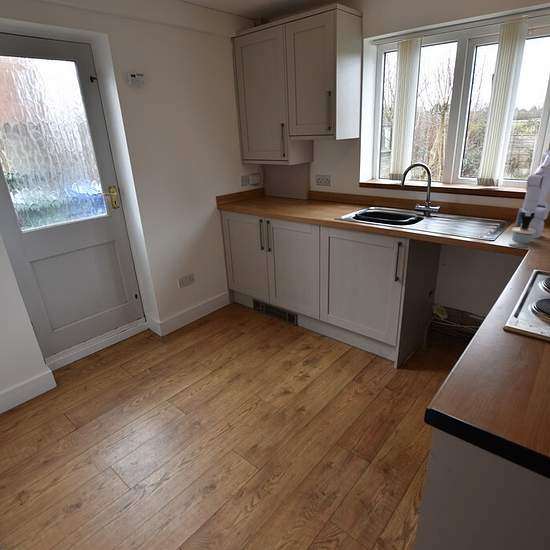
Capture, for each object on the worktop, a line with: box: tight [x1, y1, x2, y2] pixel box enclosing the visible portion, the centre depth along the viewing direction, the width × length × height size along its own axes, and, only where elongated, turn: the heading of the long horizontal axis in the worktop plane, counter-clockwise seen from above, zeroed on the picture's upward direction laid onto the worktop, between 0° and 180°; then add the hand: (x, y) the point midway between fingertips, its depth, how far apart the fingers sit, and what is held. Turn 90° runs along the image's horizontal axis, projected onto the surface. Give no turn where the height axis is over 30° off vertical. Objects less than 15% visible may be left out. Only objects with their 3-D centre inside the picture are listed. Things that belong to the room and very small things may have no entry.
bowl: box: [511, 231, 533, 244], centre depth 185 cm, size 8×8×4 cm
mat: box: [508, 243, 529, 250], centre depth 178 cm, size 8×8×1 cm
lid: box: [511, 223, 536, 234], centre depth 184 cm, size 10×10×4 cm
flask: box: [514, 210, 523, 227], centre depth 209 cm, size 9×3×11 cm, turn 48°
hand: (524, 227), depth 184 cm, fingers closed on lid, 3 cm apart
